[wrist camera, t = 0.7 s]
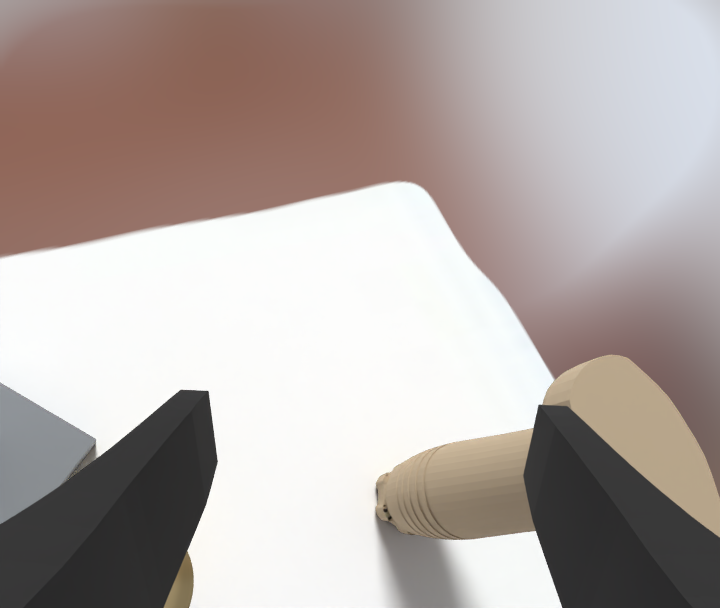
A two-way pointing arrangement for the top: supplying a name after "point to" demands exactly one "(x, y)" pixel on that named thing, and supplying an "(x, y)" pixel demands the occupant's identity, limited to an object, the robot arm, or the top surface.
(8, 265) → the top surface
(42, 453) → the board
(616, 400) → the handle
